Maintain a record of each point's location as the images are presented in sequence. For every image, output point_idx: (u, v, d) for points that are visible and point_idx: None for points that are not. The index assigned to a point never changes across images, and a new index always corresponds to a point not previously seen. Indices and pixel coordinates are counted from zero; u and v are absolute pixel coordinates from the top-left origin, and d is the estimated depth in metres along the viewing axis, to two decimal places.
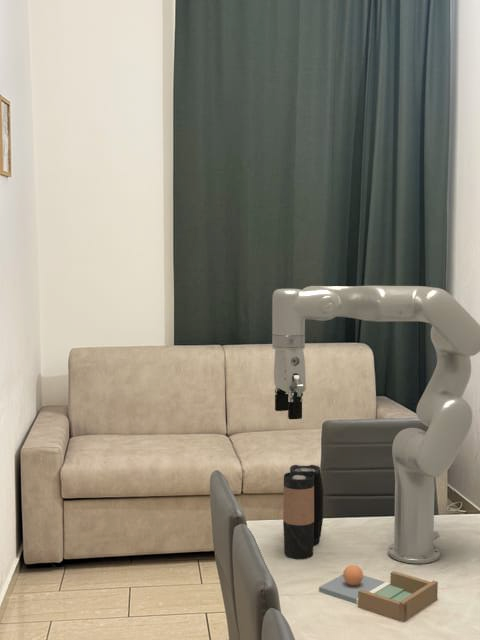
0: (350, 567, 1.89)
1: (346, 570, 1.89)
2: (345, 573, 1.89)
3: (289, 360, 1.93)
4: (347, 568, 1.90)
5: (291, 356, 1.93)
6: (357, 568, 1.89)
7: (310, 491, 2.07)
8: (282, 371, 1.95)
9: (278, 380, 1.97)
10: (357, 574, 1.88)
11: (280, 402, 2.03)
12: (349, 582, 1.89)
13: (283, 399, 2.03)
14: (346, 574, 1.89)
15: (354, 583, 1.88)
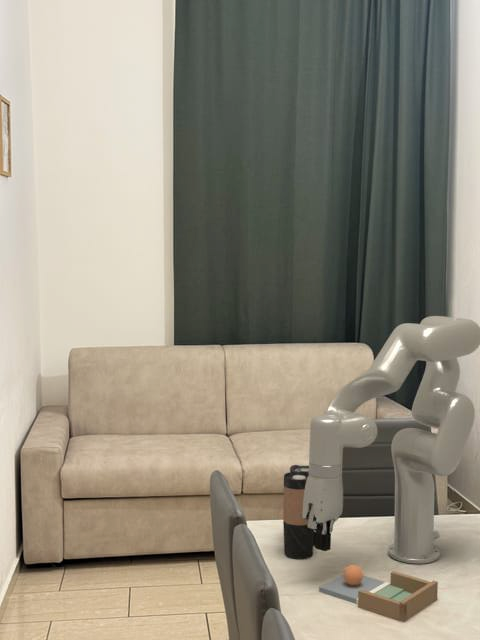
0: (350, 567, 1.89)
1: (346, 570, 1.89)
2: (345, 573, 1.89)
3: None
4: (347, 568, 1.90)
5: None
6: (357, 568, 1.89)
7: None
8: (339, 497, 1.94)
9: (332, 510, 1.92)
10: (357, 574, 1.88)
11: None
12: (349, 582, 1.89)
13: None
14: (346, 574, 1.89)
15: (354, 583, 1.88)
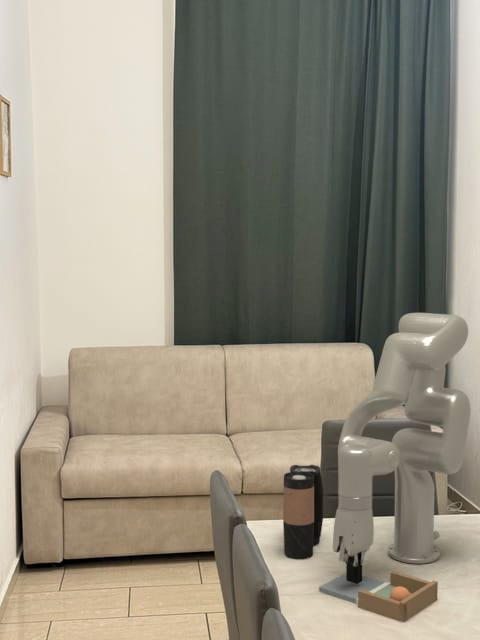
0: (397, 589, 1.79)
1: (394, 593, 1.79)
2: (394, 596, 1.79)
3: None
4: (394, 591, 1.79)
5: None
6: (404, 589, 1.80)
7: (310, 491, 2.07)
8: (370, 528, 1.89)
9: (363, 542, 1.88)
10: (407, 595, 1.79)
11: None
12: None
13: None
14: (395, 597, 1.79)
15: None
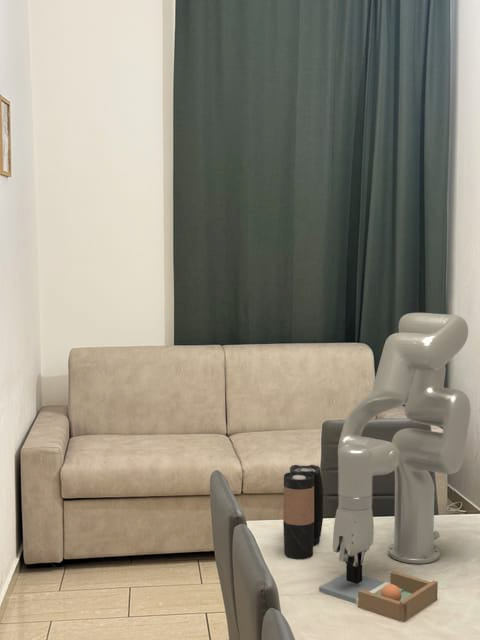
0: (381, 590, 1.82)
1: (381, 594, 1.81)
2: None
3: None
4: (381, 593, 1.81)
5: None
6: None
7: (310, 491, 2.07)
8: (370, 528, 1.89)
9: (363, 542, 1.88)
10: (391, 586, 1.81)
11: None
12: None
13: None
14: None
15: (396, 595, 1.80)
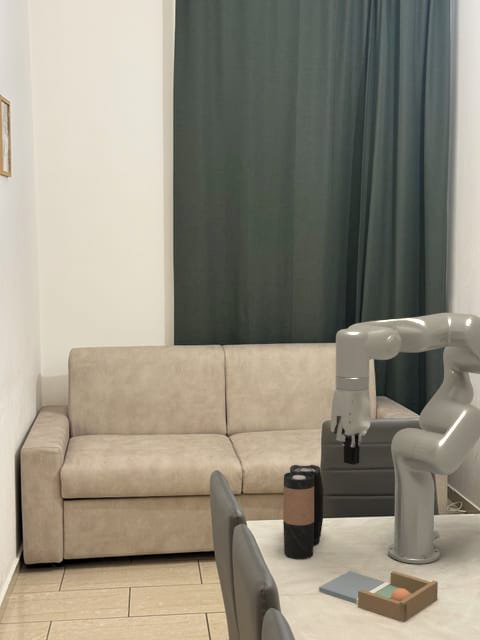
0: (399, 594, 1.78)
1: (395, 597, 1.78)
2: None
3: None
4: (395, 594, 1.78)
5: None
6: (406, 594, 1.78)
7: (310, 491, 2.07)
8: (367, 411, 1.94)
9: (360, 423, 1.92)
10: None
11: None
12: None
13: None
14: None
15: None
